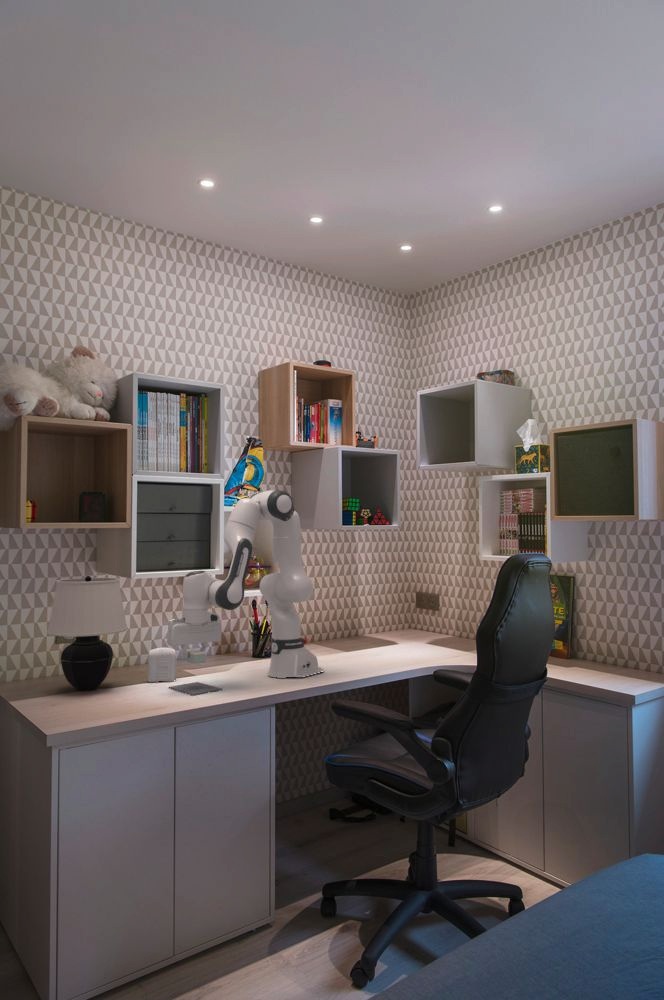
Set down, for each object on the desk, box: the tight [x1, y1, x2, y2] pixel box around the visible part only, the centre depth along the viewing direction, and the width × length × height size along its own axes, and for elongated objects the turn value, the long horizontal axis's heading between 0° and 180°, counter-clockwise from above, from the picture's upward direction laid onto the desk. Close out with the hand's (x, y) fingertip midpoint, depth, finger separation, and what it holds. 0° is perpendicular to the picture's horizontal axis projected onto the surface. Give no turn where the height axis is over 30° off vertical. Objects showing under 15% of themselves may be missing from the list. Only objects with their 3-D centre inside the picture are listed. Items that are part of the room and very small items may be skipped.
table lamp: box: [46, 575, 129, 692], centre depth 249 cm, size 27×27×40 cm
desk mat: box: [167, 681, 223, 696], centre depth 248 cm, size 12×16×1 cm
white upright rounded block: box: [147, 647, 177, 683], centre depth 262 cm, size 10×4×12 cm, turn 104°
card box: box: [182, 649, 207, 664], centre depth 248 cm, size 8×4×4 cm, turn 43°
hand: (194, 656), depth 248 cm, fingers closed on card box, 4 cm apart
